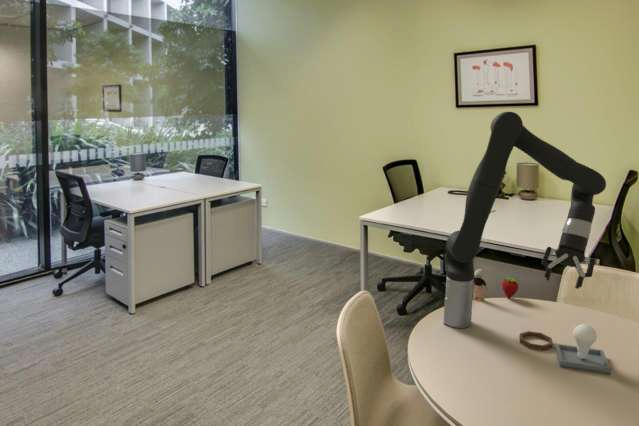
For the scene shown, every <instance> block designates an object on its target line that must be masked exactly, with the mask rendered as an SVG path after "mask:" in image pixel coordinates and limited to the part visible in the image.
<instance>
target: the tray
mask: <svg viewBox="0 0 639 426" xmlns="http://www.w3.org/2000/svg"><path fill="white" fill-rule="evenodd" d="M554 350H555V354H556V358H557V361H558V366H559V368H563V369H569V370H576V371H577V370H578V371H584V372H589V373H596V374H600V375H601V374H602V375H609V376H610V375H611V373H612V368H611V366H610V363H609V360H608V359H607V357H606V355H605V352H604V350H603V349H596V348H591V347H590V349H589V352H588V355H587V358H586V359H580V358H579V357H578V350H577V345H570V344H563V343H555V347H554Z"/></svg>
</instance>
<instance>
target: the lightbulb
mask: <svg viewBox="0 0 639 426" xmlns="http://www.w3.org/2000/svg"><path fill="white" fill-rule="evenodd" d="M573 338H574V340H575V342H576V346H577V350H578V357H579V358H580V359H586V358H587V355H588V352H589V349H590V348H591V347H592V346H593V345H594V343H595V342H596V341H597V339H598V335H597V331H596V330H595V328H594V327H593V326H591V325H589V324H586V323H581V324H578V325H576V326H575V328H574V329H573Z"/></svg>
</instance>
